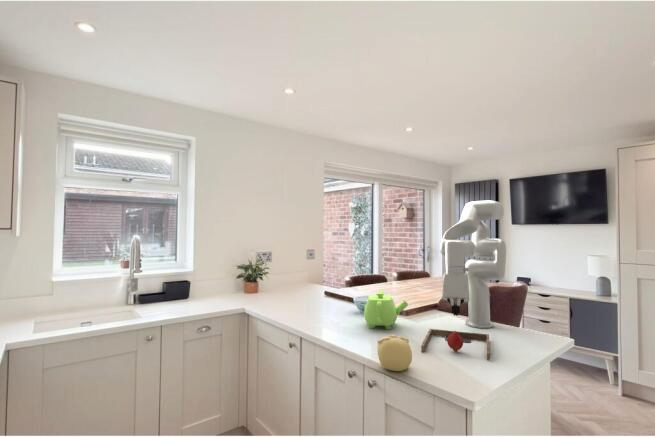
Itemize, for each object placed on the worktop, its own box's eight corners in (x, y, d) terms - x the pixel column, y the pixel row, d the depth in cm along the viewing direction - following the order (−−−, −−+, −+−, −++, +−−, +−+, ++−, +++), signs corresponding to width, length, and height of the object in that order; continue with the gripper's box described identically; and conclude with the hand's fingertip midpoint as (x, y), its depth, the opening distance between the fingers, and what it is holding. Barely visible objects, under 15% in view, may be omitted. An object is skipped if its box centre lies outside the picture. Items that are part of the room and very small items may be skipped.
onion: (444, 351, 133) (444, 330, 134) (451, 347, 137) (451, 327, 138) (459, 355, 129) (458, 333, 129) (466, 351, 133) (465, 330, 133)
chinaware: (349, 310, 202) (348, 297, 202) (371, 307, 208) (370, 294, 208) (362, 316, 188) (361, 302, 188) (385, 313, 194) (384, 299, 195)
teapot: (409, 333, 157) (408, 297, 158) (362, 331, 162) (361, 297, 162) (408, 318, 182) (407, 288, 182) (367, 317, 186) (366, 287, 187)
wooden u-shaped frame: (429, 334, 155) (429, 328, 155) (489, 340, 145) (489, 334, 145) (421, 351, 134) (421, 345, 134) (490, 360, 124) (489, 353, 124)
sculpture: (406, 360, 126) (406, 330, 126) (416, 374, 114) (415, 341, 114) (375, 361, 126) (374, 331, 126) (381, 375, 114) (381, 342, 114)
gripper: (474, 270, 144) (475, 314, 143) (437, 268, 150) (438, 311, 150) (474, 271, 137) (475, 318, 137) (435, 270, 144) (435, 315, 143)
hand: (455, 314), depth 143 cm, fingers closed
